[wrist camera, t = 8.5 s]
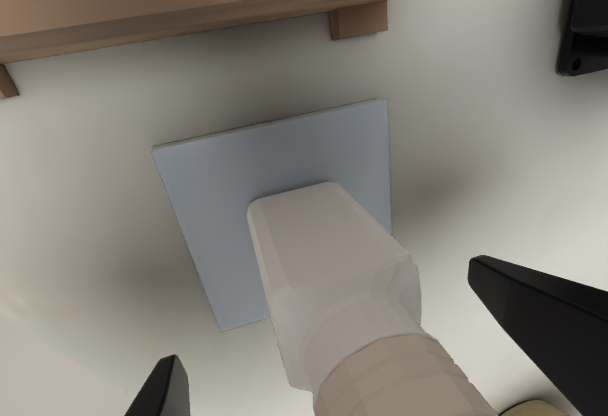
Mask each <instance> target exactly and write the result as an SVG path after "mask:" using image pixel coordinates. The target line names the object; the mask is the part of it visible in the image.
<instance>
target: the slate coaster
mask: <svg viewBox="0 0 608 416" xmlns="http://www.w3.org/2000/svg"><path fill="white" fill-rule="evenodd" d="M151 153H152V156H153V158H154V161H155V163H156V166H157V169H158V171H159V174H160V176H161V179H162V182H163V184H164V187H165V189H166V192H167V194H168V197H169V200H170V202H171V205H172V207H173V210H174V212H175V215H176V218H177V220H178V223H179V225H180V228H181V231H182V233H183V236H184V238H185V241H186V243H187V246H188V249H189V251H190V254H191V256H192V259H193V262H194V264H195V267H196V269H197V272H198V274H199V277H200V280H201V282H202V285H203V287H204V290H205V293H206V295H207V298H208V300H209V303H210V305H211V308H212V311H213V313H214V316H215V318H216V321H217V324H218V326H219V329H220V331H221V332H224V331H227V330H230V329H234V328H237V327H240V326H243V325H246V324H249V323H252V322H256V321H259V320H262V319H265V318H268V317H271V315H270V312H269V308H268V303H267V299H266V295H265V291H264V287H263V283H262V278H261V274H260V270H259V266H258V262H257V258H256V254H255V249H254V245H253V241H252V237H251V233H250V229H249V224H248V220H247V212H248V206H249V204H250V203H252V202H253V201H255V200H257V199H259V198H263V197H267V196H271V195H275V194H279V193H283V192H287V191H291V190H295V189H299V188H303V187H307V186H311V185H315V184H319V183H323V182H333V183H338V184H339V185H340V186H341V187H342V188H343V189H344V190H345V191H346V192H347V193H348V194H349V195H350V196H351V197H353V198H354V199H355V200H356V201H357V202H358V203H359V204H360V205H361V206H362V207H363V208H364V209H365V210H366V211H367V212H368V213H369V214H370V215H371V216H372V217H373V218H374V219H375V220H376V221H377V222H378V223H379V224H380V225H381V226H382V227H383V228H384V229H385V230H386V231H387V232H388V233H389V234H390V235H391V236H392V226H391V195H390V165H389V135H388V105H387V99H383V98H377V99H373V100H368V101H363V102H359V103H354V104H349V105H345V106H340V107H335V108H331V109H326V110H321V111H317V112H312V113H307V114H303V115H298V116H293V117H289V118H284V119H279V120H275V121H270V122H265V123H261V124H256V125H251V126H247V127H242V128H237V129H233V130H228V131H223V132H219V133H214V134H209V135H205V136H200V137H195V138H191V139H186V140H181V141H177V142H172V143H167V144H163V145H158V146H153V148H152V149H151Z"/></svg>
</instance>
